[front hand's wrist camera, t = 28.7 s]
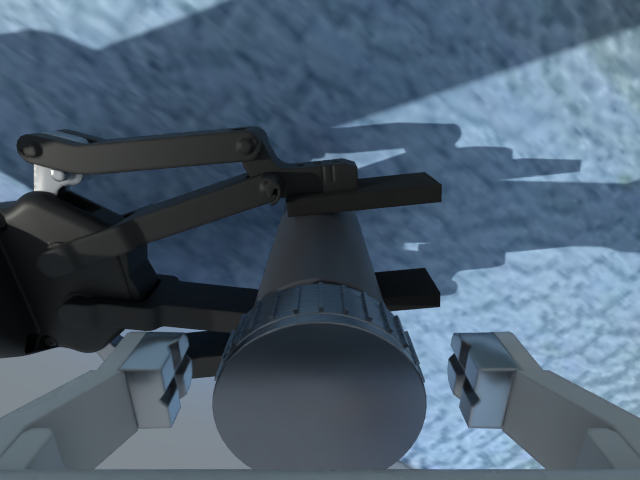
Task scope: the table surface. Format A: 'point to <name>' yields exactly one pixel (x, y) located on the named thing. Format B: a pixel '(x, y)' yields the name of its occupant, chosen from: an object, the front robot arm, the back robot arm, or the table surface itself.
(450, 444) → the table surface
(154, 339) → the front robot arm
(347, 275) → the dark grey cylinder
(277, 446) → the lid
